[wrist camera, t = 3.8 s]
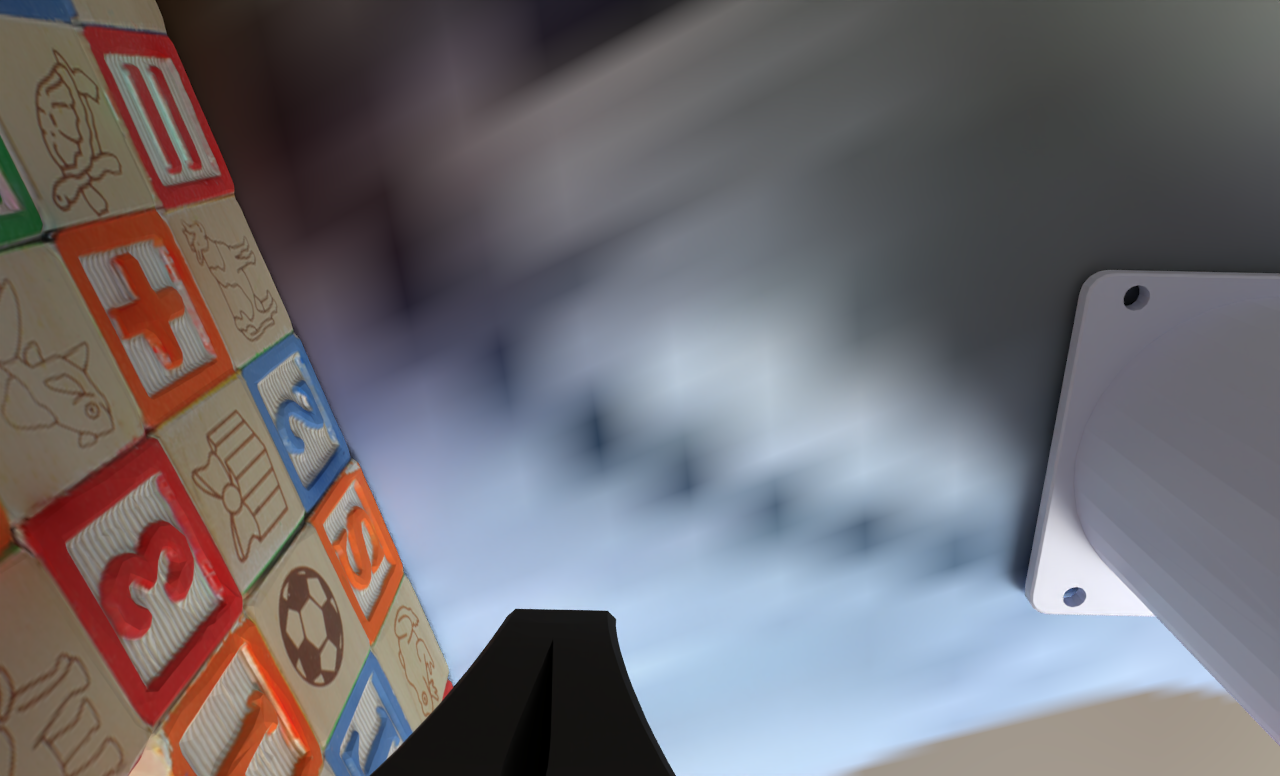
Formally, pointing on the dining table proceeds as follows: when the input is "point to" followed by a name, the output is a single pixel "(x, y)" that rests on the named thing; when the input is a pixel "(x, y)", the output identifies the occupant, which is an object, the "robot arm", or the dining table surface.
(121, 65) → the stack of blocks
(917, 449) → the dining table surface
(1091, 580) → the robot arm
